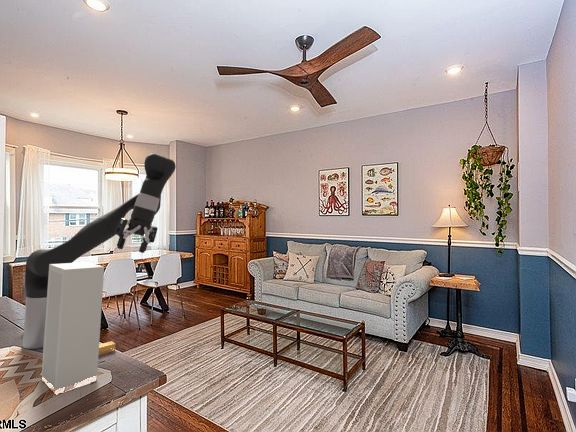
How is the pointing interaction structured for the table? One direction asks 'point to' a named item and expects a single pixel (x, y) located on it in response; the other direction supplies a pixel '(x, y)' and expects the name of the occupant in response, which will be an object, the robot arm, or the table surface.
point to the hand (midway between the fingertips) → (130, 250)
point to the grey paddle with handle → (106, 347)
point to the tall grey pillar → (72, 323)
